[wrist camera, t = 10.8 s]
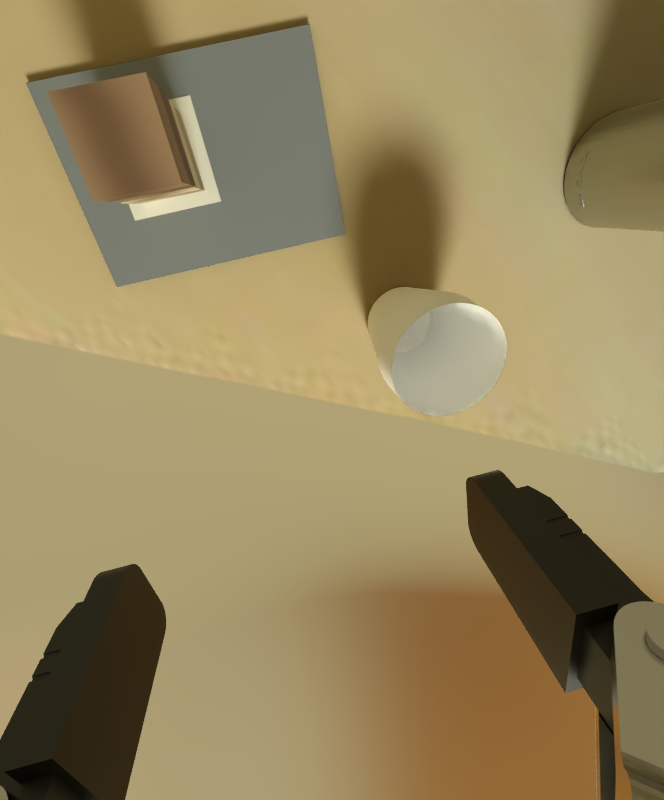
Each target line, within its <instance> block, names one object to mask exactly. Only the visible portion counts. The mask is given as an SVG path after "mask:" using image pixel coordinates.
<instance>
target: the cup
mask: <svg viewBox="0 0 664 800" xmlns="http://www.w3.org/2000/svg"><path fill="white" fill-rule="evenodd" d="M368 332H369V335H370V338H371V342H372V345H373V348H374V351H375V355H376V358H377V361H378V364H379V368H380V371H381V373H382V375H383V377H384V379H385V381H386V383H387V384H388V386H389V387H390V388H391V389H392V390H393V391H394V392H395V393H396V394H397V395H398V396H399V397H400V399H401V400H402V401H403V402H404V403H405V404H406V405H407V406H408V407H410V408H411V409H413V410H415V411H416V412H419V413H421V414H425V415H429V416H448V415H453V414H456V413H459V412H462V411H464V410H466V409H468V408H470V407H472V406H474V405H475V404H477V403H478V402H479V401H480V400H482V399H483V398H484V397H485V396H486V395H487V394H488V393H489V392H490V391H491V389H492V388H493V387H494V386H495V384H496V383H497V381H498V379H499V377H500V375H501V373H502V371H503V368H504V365H505V361H506V355H507V343H506V337H505V334H504V331H503V328H502V326H501V325H500V323H499V321H498V320H497V319H496V318H495V317H494V316H493V315H492V314H491V313H490V312H488V311H487V310H485V309H484V308H482V307H480V306H478V305H477V304H475V303H474V302H473V301H471V300H470V299H468V298H466V297H464V296H462V295H459V294H456V293H452V292H446V291H438V290H429V289H420V288H411V287H398V288H394V289H391V290H389V291H387V292H385V293H384V294H383V295H381V296H380V297H379V298H378V299H377V300H376V302H375V303H374V304H373V306H372V308H371V310H370V313H369V316H368Z"/></svg>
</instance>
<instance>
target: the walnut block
mask: <svg viewBox="0 0 664 800" xmlns="http://www.w3.org/2000/svg"><path fill="white" fill-rule="evenodd" d="M47 93H48V95H49V98H50V100H51V102H52V105H53V107H54V109H55V112H56V114H57V116H58V119H59V121H60V123H61V126H62V128H63V130H64V133H65V135H66V138H67V140H68V142H69V145H70V147H71V149H72V152H73V154H74V156H75V159H76V161H77V163H78V166H79V168H80V170H81V173H82V175H83V177H84V180H85V182H86V185H87V187H88V189H89V192H90V194H91V196H92V199H93V201H101V202H127V201H131V200H136V199H140V198H145V197H150V196H154V195H159V194H163V193H168V192H173V191H177V190H182V189H187V188H191V187H196V186H195V182H194V179H193V176H192V173H191V170H190V166H189V163H188V160H187V157H186V154H185V150H184V147H183V144H182V141H181V138H180V134H179V131H178V128H177V125H176V122H175V119H174V115H173V112H172V109H171V106H170V103H169V99H168V97H167V95H166V94H165V93H164V92H163V91H162V90H161V89H160V88H159V86H158V85H157V84H156V83H155V82H154V81H153V80H152V79H151V77H150V76H149V75H148V74H147V73H146V72H143V73H138V74H133V75H128V76H123V77H119V78H114V79H109V80H104V81H99V82H94V83H89V84H84V85H79V86H74V87H69V88H64V89H59V90H54V91H49V92H47Z"/></svg>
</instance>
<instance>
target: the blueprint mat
mask: <svg viewBox="0 0 664 800" xmlns="http://www.w3.org/2000/svg"><path fill="white" fill-rule="evenodd" d="M143 72H146V73H147V74H148V75H149V76H150V77H151V79H152V80H153V81H154V82H155V83H156V84H157V85H158V86H159V88H160V89H161V90H162V91H163V92H164V93H165V94H166V95H167V97H168V99H169V102H170V103H171V104H172V105H173V106H174V107H175V108H176V109H177V110H178V112H179V113H180V114H181V115H182V118H183V122H184V125H185V128H186V131H187V135H188V138H189V141H190V144H191V147H192V151H193V154H194V157H195V160H196V164H197V167H198V170H199V173H200V177H201V180H202V183H203V186H204V189H205V190H204V191H199V192H195V193H190V194H186V195H181V196H177V197H172V198H168V199H163V200H159V201H154V202H150V203H145V204H121V202H101V201H93V199H92V196H91V194H90V192H89V189H88V187H87V185H86V182H85V180H84V177H83V175H82V173H81V170H80V168H79V166H78V163H77V161H76V159H75V156H74V154H73V152H72V149H71V147H70V145H69V142H68V140H67V138H66V135H65V133H64V130H63V128H62V126H61V123H60V121H59V119H58V116H57V114H56V112H55V109H54V107H53V105H52V102H51V100H50V98H49V95H48V93H47V92H49V91H54V90H59V89H64V88H69V87H74V86H79V85H84V84H89V83H94V82H99V81H104V80H109V79H114V78H119V77H123V76H128V75H133V74H138V73H143ZM26 84H27V86H28V89H29V91H30V93H31V95H32V98H33V100H34V102H35V104H36V107H37V109H38V111H39V113H40V116H41V118H42V120H43V122H44V124H45V127H46V129H47V131H48V133H49V136H50V138H51V140H52V142H53V145H54V147H55V149H56V151H57V154H58V156H59V158H60V160H61V163H62V165H63V167H64V169H65V172H66V174H67V176H68V178H69V181H70V183H71V185H72V187H73V189H74V192H75V194H76V196H77V198H78V201H79V203H80V205H81V207H82V210H83V212H84V214H85V216H86V219H87V221H88V223H89V225H90V228H91V230H92V232H93V234H94V237H95V239H96V241H97V243H98V246H99V248H100V250H101V252H102V255H103V257H104V259H105V261H106V263H107V266H108V268H109V270H110V272H111V275H112V277H113V279H114V281H115V284H116V286H117V287H119V286H123V285H128V284H132V283H136V282H141V281H145V280H149V279H154V278H158V277H162V276H167V275H171V274H175V273H180V272H184V271H188V270H193V269H197V268H201V267H205V266H210V265H214V264H218V263H223V262H227V261H231V260H236V259H240V258H244V257H249V256H253V255H257V254H262V253H266V252H270V251H275V250H279V249H283V248H287V247H292V246H296V245H300V244H305V243H309V242H313V241H318V240H322V239H326V238H331V237H335V236H339V235H344V234H345V228H344V223H343V217H342V211H341V205H340V199H339V193H338V188H337V182H336V176H335V170H334V164H333V158H332V153H331V147H330V141H329V135H328V129H327V123H326V117H325V112H324V106H323V100H322V94H321V88H320V82H319V77H318V71H317V65H316V59H315V53H314V47H313V41H312V36H311V30H310V24H308V25H303V26H298V27H293V28H288V29H284V30H279V31H274V32H269V33H264V34H260V35H255V36H250V37H245V38H240V39H236V40H231V41H226V42H221V43H216V44H211V45H207V46H202V47H197V48H192V49H187V50H183V51H178V52H173V53H168V54H163V55H158V56H154V57H149V58H144V59H139V60H134V61H130V62H125V63H120V64H115V65H110V66H106V67H101V68H96V69H91V70H86V71H81V72H77V73H72V74H67V75H62V76H57V77H53V78H48V79H43V80H38V81H33V82H28V83H26Z"/></svg>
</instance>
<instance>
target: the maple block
mask: <svg viewBox="0 0 664 800" xmlns="http://www.w3.org/2000/svg"><path fill="white" fill-rule="evenodd" d="M169 103H170V102H169ZM170 106H171V109H172V112H173V115H174V119H175V122H176V125H177V128H178V131H179V134H180V138H181V141H182V144H183V147H184V150H185V154H186V157H187V160H188V163H189V166H190V170H191V173H192V176H193V179H194V182H195V186H196V187H191V188H187V189H182V190H177V191H173V192H168V193H163V194H159V195H154V196H150V197H145V198H140V199H136V200H131V201H127V202H121V204H145V203H150V202H154V201H159V200H163V199H168V198H172V197H177V196H181V195H186V194H190V193H195V192H199V191H204V190H205V189H204V186H203V183H202V180H201V177H200V173H199V170H198V167H197V164H196V160H195V157H194V154H193V151H192V147H191V144H190V141H189V138H188V135H187V131H186V128H185V125H184V122H183V118H182V115H181V114H180V113H179V112H178V110H177V109H176V108H175V107H174V106H173V105H172V104H171V103H170Z"/></svg>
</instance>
